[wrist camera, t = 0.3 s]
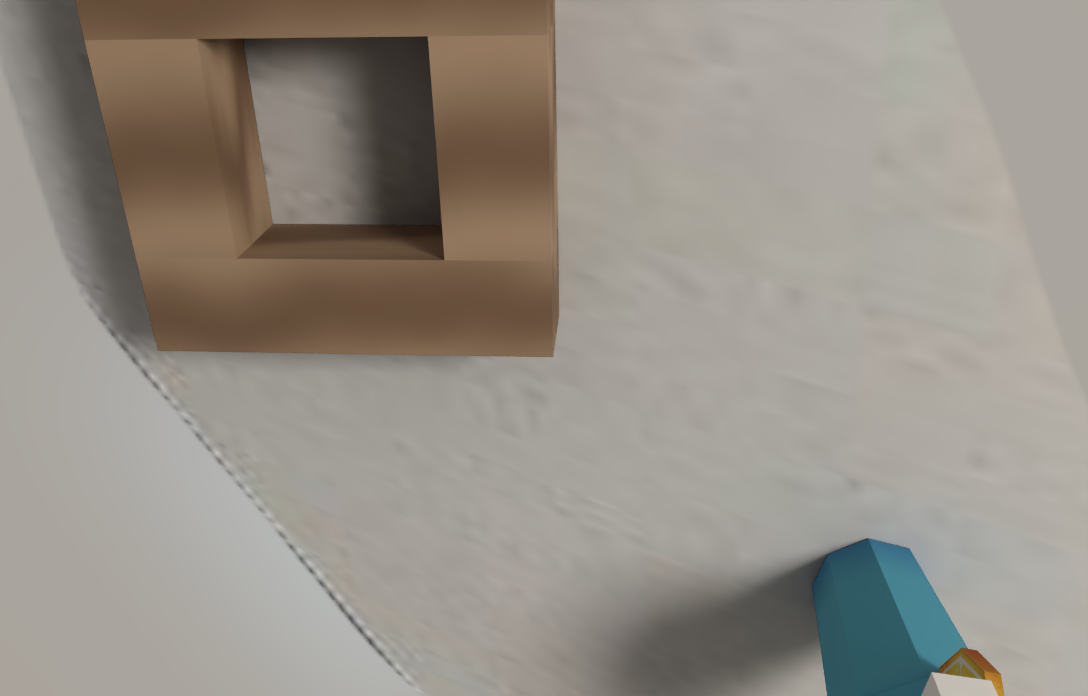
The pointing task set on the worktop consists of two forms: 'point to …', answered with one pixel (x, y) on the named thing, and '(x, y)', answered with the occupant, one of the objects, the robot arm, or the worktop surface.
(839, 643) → the cup
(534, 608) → the worktop surface
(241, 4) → the socket
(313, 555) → the worktop surface
